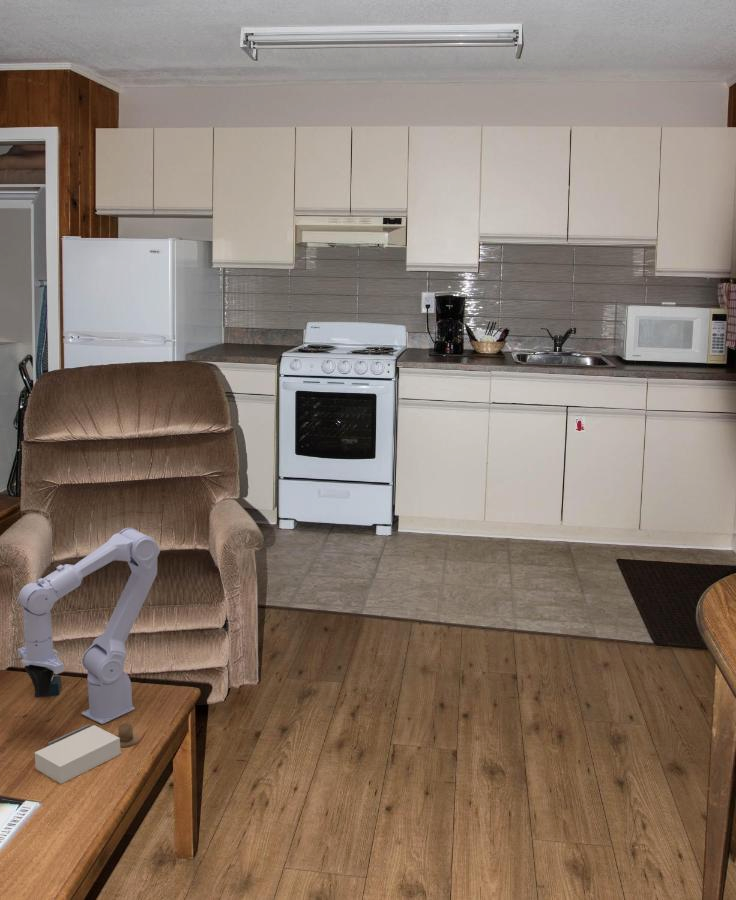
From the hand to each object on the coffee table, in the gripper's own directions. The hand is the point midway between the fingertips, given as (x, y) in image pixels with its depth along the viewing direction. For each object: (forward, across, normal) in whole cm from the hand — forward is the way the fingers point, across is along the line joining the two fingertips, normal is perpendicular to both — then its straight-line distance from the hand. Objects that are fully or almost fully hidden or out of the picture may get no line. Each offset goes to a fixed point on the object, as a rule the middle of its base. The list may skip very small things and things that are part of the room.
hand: (42, 694), depth 211 cm
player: (+9, +16, -3) cm, 19 cm away
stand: (+9, +17, +9) cm, 21 cm away
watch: (+10, -17, +12) cm, 23 cm away
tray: (+9, +15, -1) cm, 17 cm away
